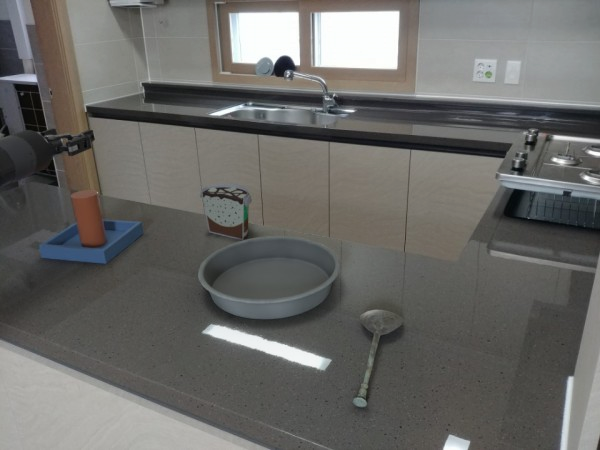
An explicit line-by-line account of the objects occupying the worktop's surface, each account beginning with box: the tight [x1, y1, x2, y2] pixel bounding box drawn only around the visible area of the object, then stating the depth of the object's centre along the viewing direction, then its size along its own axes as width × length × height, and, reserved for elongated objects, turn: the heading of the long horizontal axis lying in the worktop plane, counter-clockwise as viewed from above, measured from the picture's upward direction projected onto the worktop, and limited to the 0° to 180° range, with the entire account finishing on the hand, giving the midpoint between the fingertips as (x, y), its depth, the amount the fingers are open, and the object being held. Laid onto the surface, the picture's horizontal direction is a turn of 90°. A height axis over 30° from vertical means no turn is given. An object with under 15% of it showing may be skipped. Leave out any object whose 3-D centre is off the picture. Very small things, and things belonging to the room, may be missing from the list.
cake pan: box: [197, 235, 341, 320], centre depth 94 cm, size 25×25×4 cm
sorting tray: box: [38, 218, 144, 265], centre depth 113 cm, size 15×15×3 cm
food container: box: [199, 183, 253, 241], centre depth 116 cm, size 12×6×10 cm, turn 59°
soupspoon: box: [352, 309, 404, 408], centre depth 76 cm, size 22×3×7 cm
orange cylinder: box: [70, 189, 107, 248], centre depth 111 cm, size 5×5×11 cm
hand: (73, 134), depth 107 cm, fingers open, 8 cm apart
